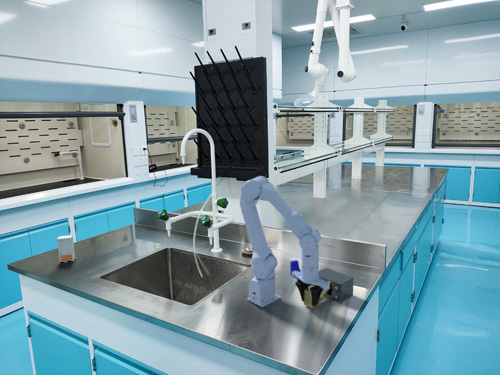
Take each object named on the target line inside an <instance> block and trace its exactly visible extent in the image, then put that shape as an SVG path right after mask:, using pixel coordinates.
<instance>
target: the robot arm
mask: <svg viewBox="0 0 500 375" xmlns="http://www.w3.org/2000/svg"><path fill="white" fill-rule="evenodd" d="M240 191H241V195H240V198H239V207H240V211H241V214H242V217H243V221H244V224H245V228H246V232H247V235H248V238H249V241H250V245H251V249H252V256H251V262H252V263H251V264H252V267H251V272H252V274H253V275H254V277H253V278H252V279H250V280H249V282H248V297H247V298H246V299H247V301H249V302H252V303H253V304H255V305H257V306H259V307H261V308H264V307H267V306H268V305H270V304H272V303H274V302H276V301H278V300H280V299H281V295H279V294H276V272H275V269H276V268H277V266H278V260H277V257H276V256H275V255H274V253H273V250H272V249H271V248H270V247H269V246H268V243H267V240H266V237H265V233H264V228H263V226H262V221H261V218H260V216H259V212H258V209H257V204H258V202H259V201H265V202H269V203H270V205H271V206H273V207H274V209H275V210H276V211H277V212H279V214H280V215H281V216H282V217H283V218H284V224H285V225H286V226H287V228H288V229H289V230H290V231H291V232H292V233H293V234H294V236H295V237H296V238H297V239H298V240H299V241H298V245H299V246H300V248H301V261H300V262H301V265H300V266H301V267H300V268H301V269H300V271H301V272H298V271H293V272H292V275H291V278H293V279H296V278H297V279H298V280H297V279H296V281H295V286H296V287H297V289H298V291H299V296H300V298H301V302H303V303H304V289H306V288H308V287H310V286H309V284H312V285H311V286H313V285H314V286H313V287H311V288H310V291H311V295H312V306H316V305H317V304H318V300H319V297H320V295H321V293H322V291H323V289H324V290H325V291H327V290H329V289H330V283H327V282H325V281H324V280H323V279H321V278H320V277H319V271H320V269H319V268H320V266H319V265H320V264H319V263H320V261H319V260H320V259H319V258H320V252H319V251H320V250H319V243H320V242H321V238H322V236H321V234H320V232H319V230H318V229H316V228H314V227H313V226H312V225H311V226H310V224H309V223H308V222H307V221H306V219H304V217H305V216H304V215H303V214H302V213H301V214H300V212H297V211H293V210H292V208H290V206H289V205H288V203H287V202H286V201H285V200H284V199H283V198H282V196H281V195H280V194H279V192H278V191H277V190H276V188H275V187H274V184H272V183H271V182H270V181H269V179H268V178H267V177H266V176H263V175H258V176H255V178H252V179H248V180H246V181H245V182H244V183H243V185H242V186H241V188H240ZM316 307H317V306H316Z"/></svg>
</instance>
